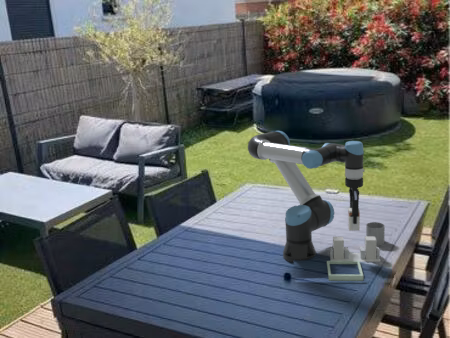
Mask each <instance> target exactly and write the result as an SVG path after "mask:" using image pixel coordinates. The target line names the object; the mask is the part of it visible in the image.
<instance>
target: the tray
mask: <svg viewBox="0 0 450 338" xmlns="http://www.w3.org/2000/svg"><path fill="white" fill-rule="evenodd" d="M331 265H357V269H358V272H359V274H351V273H350V274H347V273H346V274H344V273H343V274H339V273H338V274H337V273H336V274H333V273H332V271H331ZM326 267H327V276H328V282H364V273H363V269H362V265H361V262H360V261H331V260H326Z"/></svg>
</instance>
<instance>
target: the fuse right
mask: <svg viewBox="0 0 450 338" xmlns="http://www.w3.org/2000/svg"><path fill="white" fill-rule="evenodd" d="M376 247H377V245H376V238H375V236H366V235H365V236H364V249H365V257H366V259H376Z"/></svg>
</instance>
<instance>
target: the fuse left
mask: <svg viewBox="0 0 450 338" xmlns="http://www.w3.org/2000/svg"><path fill="white" fill-rule="evenodd" d="M332 246H333V247H332V249H333V257H334V259H344V247H345V241H344V236H333V237H332Z"/></svg>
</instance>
